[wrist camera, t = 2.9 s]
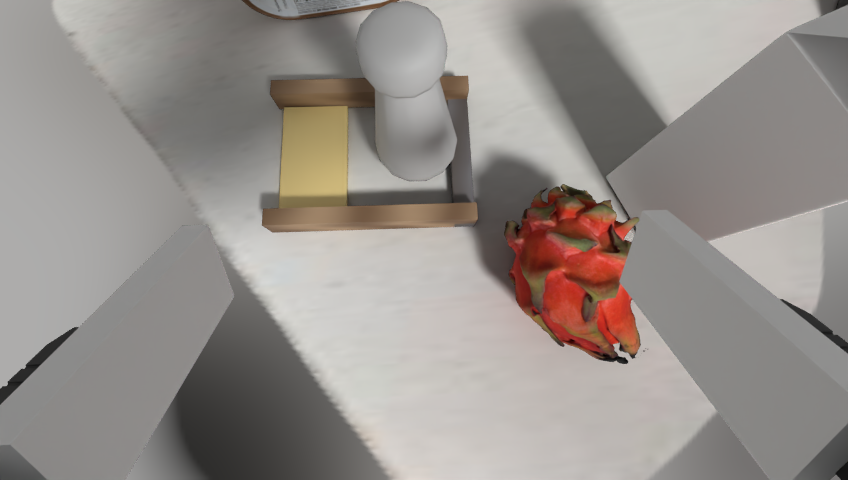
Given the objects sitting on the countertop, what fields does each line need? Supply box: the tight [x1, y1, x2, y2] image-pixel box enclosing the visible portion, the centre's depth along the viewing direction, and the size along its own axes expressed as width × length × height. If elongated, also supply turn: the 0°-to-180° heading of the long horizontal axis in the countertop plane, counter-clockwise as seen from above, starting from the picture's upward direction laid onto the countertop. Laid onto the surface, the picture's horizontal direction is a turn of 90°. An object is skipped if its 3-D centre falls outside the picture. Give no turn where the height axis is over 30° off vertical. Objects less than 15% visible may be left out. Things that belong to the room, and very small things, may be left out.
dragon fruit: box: [504, 184, 648, 364], centre depth 24 cm, size 8×8×12 cm
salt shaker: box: [356, 1, 457, 181], centre depth 23 cm, size 6×6×13 cm
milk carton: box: [606, 5, 848, 242], centre depth 20 cm, size 7×7×19 cm
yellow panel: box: [279, 106, 348, 208], centre depth 29 cm, size 5×9×1 cm, turn 2°
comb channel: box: [262, 76, 478, 232], centre depth 29 cm, size 15×11×2 cm
